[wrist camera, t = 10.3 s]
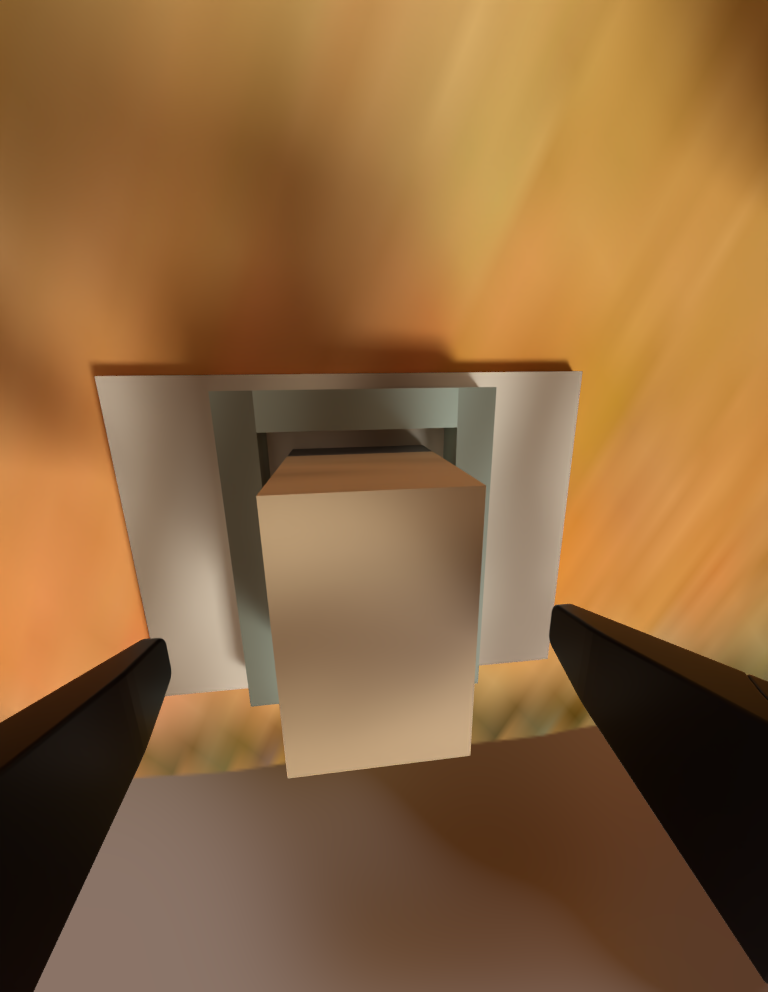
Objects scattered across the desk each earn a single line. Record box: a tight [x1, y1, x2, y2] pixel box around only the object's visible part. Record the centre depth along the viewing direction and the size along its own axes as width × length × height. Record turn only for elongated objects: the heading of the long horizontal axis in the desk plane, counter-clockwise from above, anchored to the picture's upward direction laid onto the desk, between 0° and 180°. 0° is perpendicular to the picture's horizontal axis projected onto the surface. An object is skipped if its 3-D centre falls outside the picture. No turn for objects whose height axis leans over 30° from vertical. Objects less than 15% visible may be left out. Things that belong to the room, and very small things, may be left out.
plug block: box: [256, 445, 486, 778], centre depth 11 cm, size 7×4×6 cm, turn 1°
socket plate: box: [95, 371, 582, 706], centre depth 14 cm, size 16×12×2 cm
